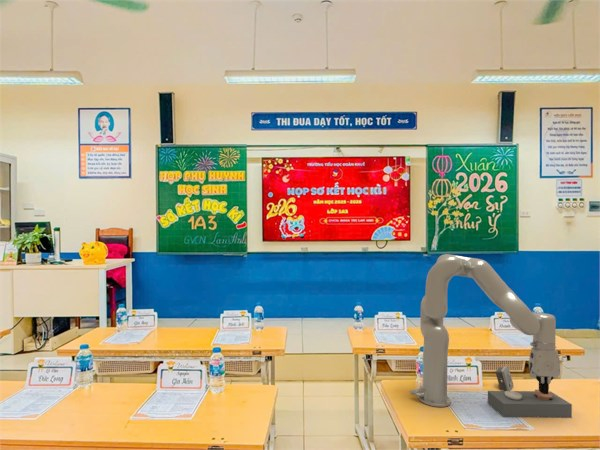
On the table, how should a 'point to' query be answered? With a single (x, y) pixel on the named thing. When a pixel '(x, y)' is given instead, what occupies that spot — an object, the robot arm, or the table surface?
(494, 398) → the button box
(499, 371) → the electrical switch
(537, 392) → the terracotta button
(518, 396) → the grey button
